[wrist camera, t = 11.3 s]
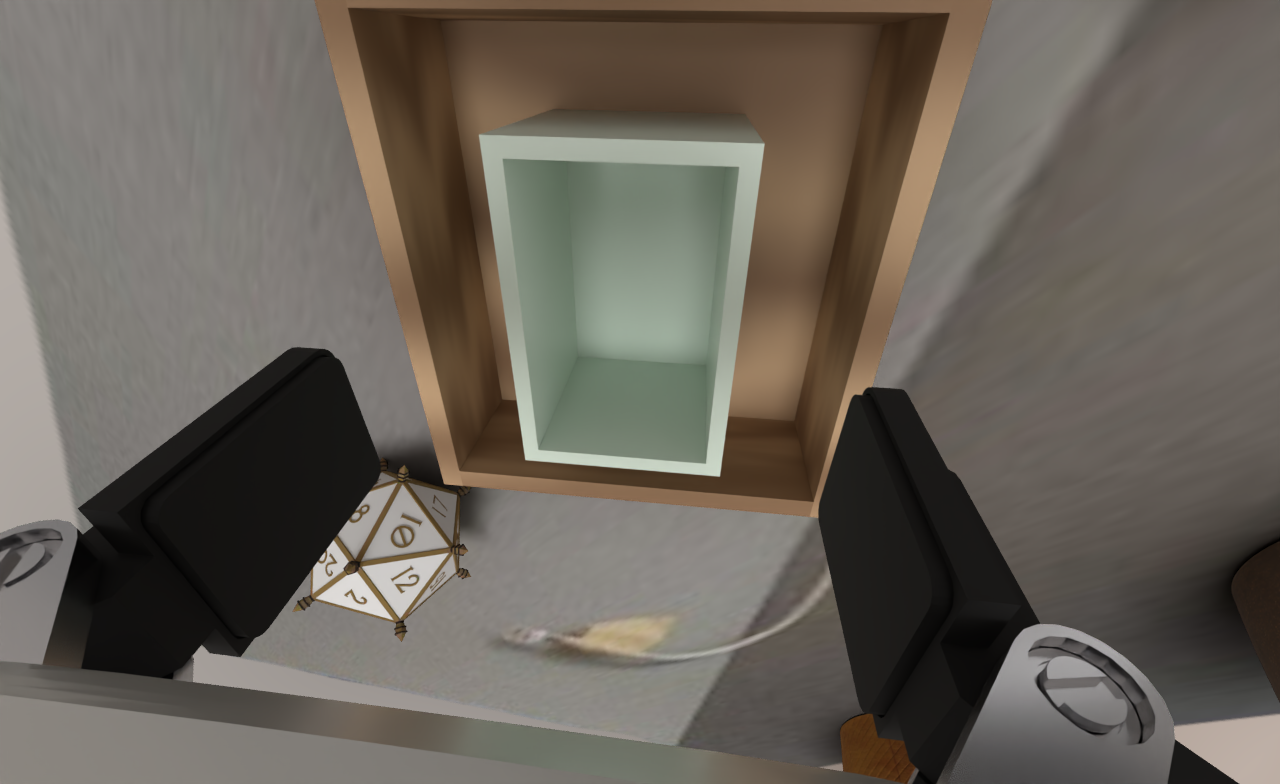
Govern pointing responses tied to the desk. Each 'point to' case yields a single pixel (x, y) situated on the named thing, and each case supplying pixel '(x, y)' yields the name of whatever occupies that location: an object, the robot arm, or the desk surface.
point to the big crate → (660, 82)
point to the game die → (392, 550)
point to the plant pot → (1262, 608)
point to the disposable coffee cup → (873, 752)
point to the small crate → (623, 280)
